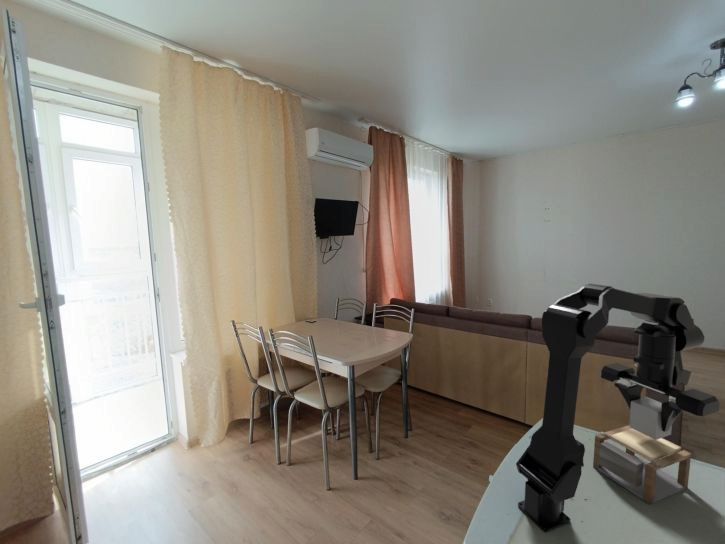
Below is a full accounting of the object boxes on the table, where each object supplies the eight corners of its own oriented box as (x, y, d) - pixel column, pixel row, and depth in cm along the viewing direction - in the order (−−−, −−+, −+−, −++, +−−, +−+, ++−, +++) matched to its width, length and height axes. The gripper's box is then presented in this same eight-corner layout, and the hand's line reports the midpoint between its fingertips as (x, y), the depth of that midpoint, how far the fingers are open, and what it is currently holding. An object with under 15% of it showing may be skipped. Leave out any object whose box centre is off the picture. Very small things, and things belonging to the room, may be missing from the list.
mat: (649, 504, 65) (649, 501, 65) (592, 466, 75) (593, 464, 75) (687, 487, 69) (687, 485, 68) (628, 454, 79) (629, 452, 79)
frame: (649, 504, 65) (653, 465, 64) (592, 466, 75) (595, 433, 74) (687, 487, 69) (691, 451, 68) (628, 454, 79) (631, 422, 78)
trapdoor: (637, 488, 65) (639, 462, 65) (596, 462, 73) (598, 438, 72) (678, 472, 70) (681, 447, 69) (636, 449, 77) (638, 426, 77)
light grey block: (655, 440, 68) (657, 412, 67) (629, 426, 73) (631, 401, 72) (671, 434, 70) (673, 407, 69) (644, 422, 74) (646, 396, 74)
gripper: (740, 364, 63) (731, 440, 65) (632, 336, 81) (628, 397, 82) (705, 373, 60) (697, 454, 61) (600, 342, 77) (596, 406, 79)
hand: (650, 424), depth 71 cm, fingers closed on light grey block, 5 cm apart
